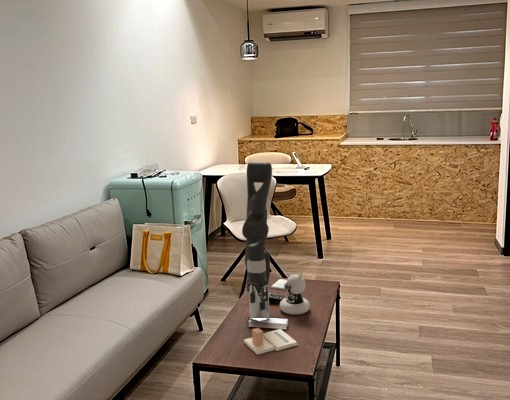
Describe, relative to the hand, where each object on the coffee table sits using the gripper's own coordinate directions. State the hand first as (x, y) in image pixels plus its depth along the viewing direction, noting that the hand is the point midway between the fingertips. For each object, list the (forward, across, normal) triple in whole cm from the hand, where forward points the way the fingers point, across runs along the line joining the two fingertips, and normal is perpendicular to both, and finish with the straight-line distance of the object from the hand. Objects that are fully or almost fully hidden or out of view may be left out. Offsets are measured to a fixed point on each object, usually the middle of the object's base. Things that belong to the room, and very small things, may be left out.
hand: (257, 306), depth 220 cm
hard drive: (+18, -55, +44) cm, 73 cm away
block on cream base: (+18, 0, 0) cm, 18 cm away
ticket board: (+18, 0, +10) cm, 21 cm away
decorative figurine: (+18, -24, +33) cm, 45 cm away
